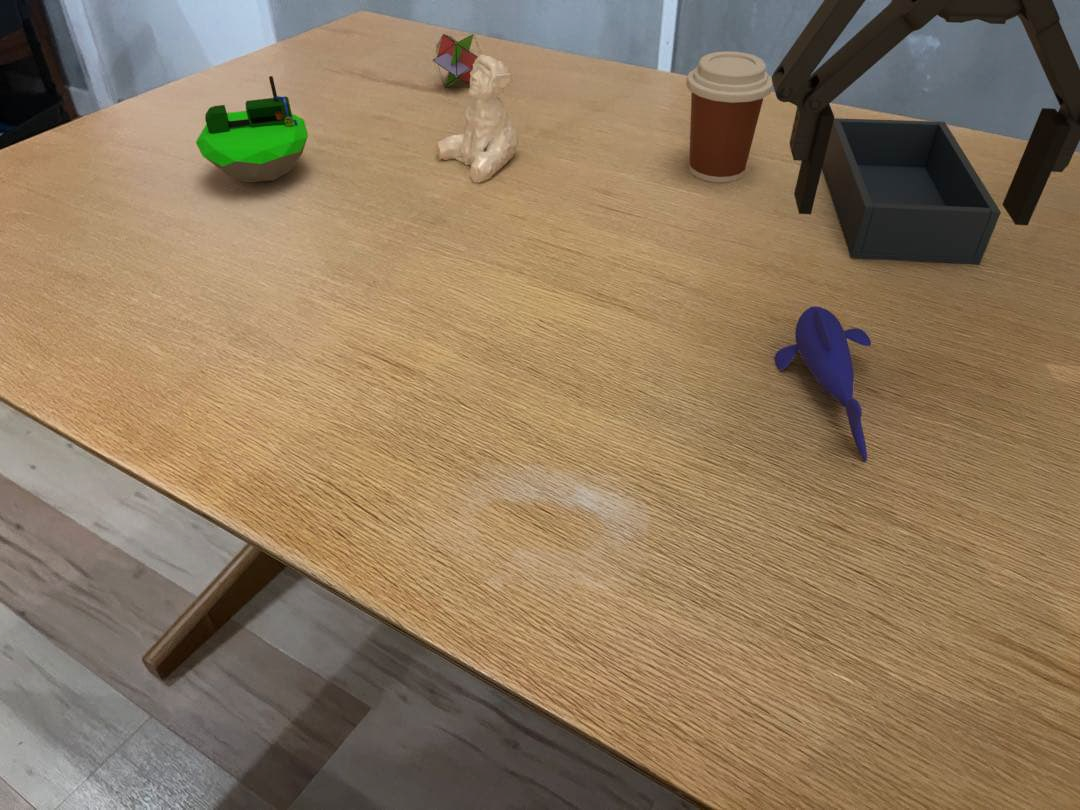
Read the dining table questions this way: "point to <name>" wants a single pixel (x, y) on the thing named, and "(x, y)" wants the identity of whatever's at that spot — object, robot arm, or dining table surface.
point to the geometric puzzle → (455, 58)
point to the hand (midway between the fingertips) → (907, 210)
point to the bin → (907, 192)
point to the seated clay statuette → (484, 123)
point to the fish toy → (829, 361)
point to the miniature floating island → (254, 139)
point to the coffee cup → (725, 113)
